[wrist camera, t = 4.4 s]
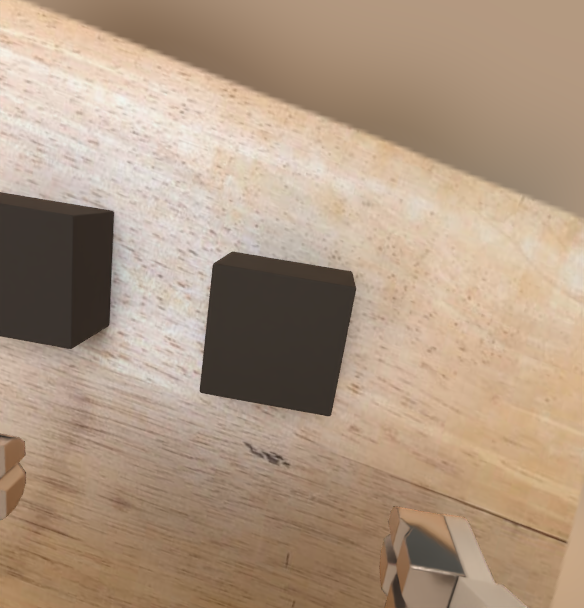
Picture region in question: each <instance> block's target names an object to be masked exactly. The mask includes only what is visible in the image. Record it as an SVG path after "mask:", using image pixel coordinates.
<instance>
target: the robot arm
mask: <svg viewBox="0 0 584 608" xmlns="http://www.w3.org/2000/svg"><path fill="white" fill-rule="evenodd" d="M25 455H26V452H25V441H23V440H22V439H21V438H20V437H15V436H10V435H6V434H1V433H0V520H2V519H4V518H6V517H7V516H8V515H9V514H10V513H11V512H12V511H13V510H14V509H15V507H16V506H17V504H18V502H19V500H20V498H21V497H22V495H23V492H24V488H25V484H26V472H25V470H24V469H23V467H22V466H21V464H20V463H19V462H20V461H21V460H22V458H23V457H24V456H25ZM388 524H389V529H390V534H389V535H388V536H387V537H385V538H384V540H383V544H382V549H381V555H380V565H379V569H380V583H381V589H382V590H383V592H384V593H385V594H386V596H387V600H386V604H385V608H528V607H527V606H526V605H525V604H524V603H522V602H521V601H520V600H519V599H518V598H517V597H516V596H515V595H514V594H513V593H512V592H511V591H510V590H508V589H507V588H506V587H505V586H504V585H502V584H497V583H495V581H494V578H493V576H492V574H491V571H490V569H489V567H488V565H487V562H486V560H485V558H484V556H483V553H482V551H481V549H480V546H479V544H478V542H477V540H476V537H475V535H474V533H473V530H472V528H471V526H470V524H469V521H468V520H467V519H466V518H465V517H460V516H453V515H447V514H436V513H430V512H424V511H419V510H413V509H407V508H402V507H396V506H393V508H392V510H391V513H390V516H389V520H388Z"/></svg>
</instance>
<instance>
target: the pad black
mask: <svg viewBox="0 0 584 608" xmlns="http://www.w3.org/2000/svg"><path fill="white" fill-rule="evenodd" d="M355 292H356V287H355V282H354V278H353V274H352V272H351V271H345V270H339V269H333V268H327V267H321V266H315V265H309V264H303V263H297V262H291V261H285V260H279V259H273V258H267V257H261V256H255V255H249V254H243V253H237V252H231V253H229V254H228V255H226V256H225V257H223V258H222V259H220V260H218V261H217V262H215V263H214V264H213V269H212V279H211V288H210V298H209V308H208V317H207V327H206V336H205V346H204V355H203V365H202V374H201V384H200V392H201V393H205V394H210V395H216V396H221V397H226V398H232V399H237V400H243V401H248V402H254V403H259V404H265V405H270V406H276V407H281V408H286V409H292V410H297V411H303V412H308V413H314V414H319V415H325V416H330V415H331V413H332V408H333V403H334V398H335V393H336V388H337V383H338V378H339V373H340V368H341V363H342V358H343V352H344V347H345V342H346V337H347V332H348V327H349V322H350V317H351V312H352V307H353V302H354V297H355Z"/></svg>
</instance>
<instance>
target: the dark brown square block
mask: <svg viewBox="0 0 584 608" xmlns="http://www.w3.org/2000/svg"><path fill="white" fill-rule="evenodd" d="M113 213H114V212H113V211H110V210H104V209H98V208H92V207H86V206H80V205H74V204H67V203H61V202H55V201H49V200H43V199H37V198H31V197H25V196H19V195H13V194H7V193H1V192H0V336H2V337H8V338H13V339H19V340H24V341H30V342H35V343H41V344H46V345H52V346H57V347H63V348H68V349H72V348H73V347H75V346H77V345H78V344H80V343H81V342H83V341H85V340H86V339H88V338H90V337H91V336H93V335H94V334H96V333H98V332H99V331H101V330H102V329H104V328H106V327H107V326H109V311H110V286H111V262H112V237H113Z"/></svg>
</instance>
